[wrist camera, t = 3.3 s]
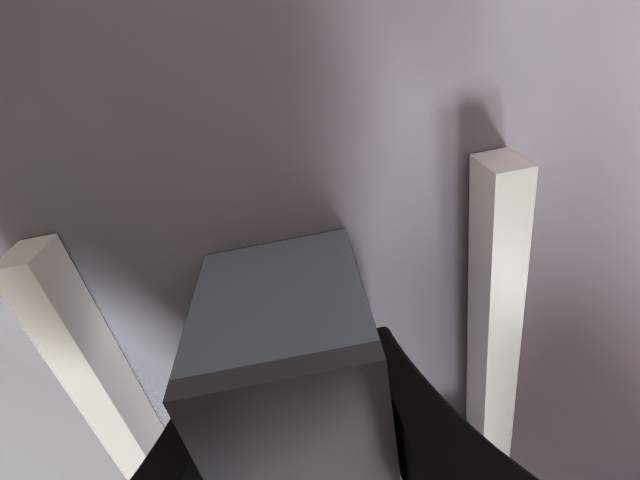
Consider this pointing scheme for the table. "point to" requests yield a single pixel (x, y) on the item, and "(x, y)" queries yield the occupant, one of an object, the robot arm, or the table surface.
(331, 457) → the grey rectangular block
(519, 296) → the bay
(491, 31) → the table surface
